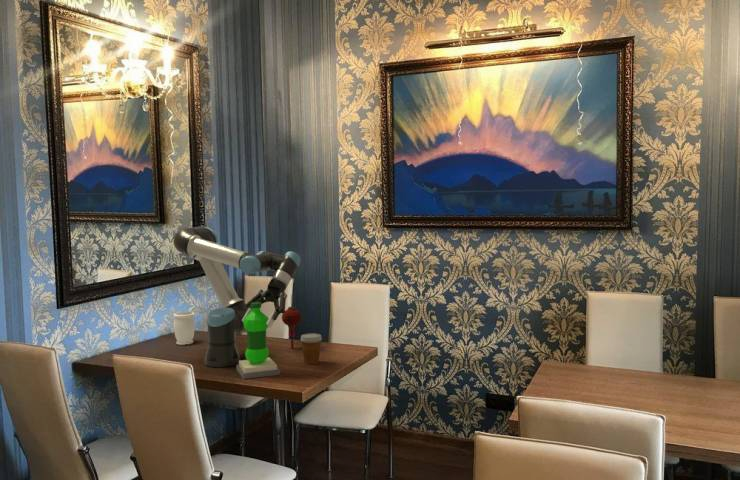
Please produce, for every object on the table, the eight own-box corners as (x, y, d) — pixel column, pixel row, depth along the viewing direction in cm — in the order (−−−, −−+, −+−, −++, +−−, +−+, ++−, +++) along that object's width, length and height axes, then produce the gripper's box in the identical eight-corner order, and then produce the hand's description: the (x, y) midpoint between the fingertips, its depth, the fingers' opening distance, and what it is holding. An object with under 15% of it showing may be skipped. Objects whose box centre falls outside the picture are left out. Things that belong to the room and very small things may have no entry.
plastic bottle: (271, 359, 267) (270, 300, 265) (267, 365, 256) (266, 305, 255) (247, 359, 267) (246, 301, 265) (242, 366, 256) (241, 305, 255)
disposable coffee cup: (296, 363, 274) (295, 336, 273) (308, 358, 282) (308, 332, 281) (314, 366, 269) (314, 338, 269) (326, 361, 278) (326, 334, 277)
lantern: (304, 346, 305) (303, 285, 302) (298, 351, 296) (296, 288, 293) (286, 345, 307) (285, 284, 305) (279, 350, 298) (277, 287, 296)
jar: (174, 341, 318) (173, 312, 317) (195, 339, 322) (194, 311, 320) (174, 346, 308) (173, 316, 307) (195, 344, 311) (195, 314, 310)
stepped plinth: (236, 369, 266) (236, 360, 265) (271, 365, 271) (270, 356, 271) (243, 379, 252) (243, 369, 252) (279, 374, 258) (279, 365, 257)
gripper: (305, 290, 266) (283, 332, 255) (261, 286, 280) (238, 326, 269) (297, 279, 262) (274, 321, 250) (253, 276, 275) (229, 316, 264)
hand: (255, 324), depth 259 cm, fingers open, 13 cm apart
